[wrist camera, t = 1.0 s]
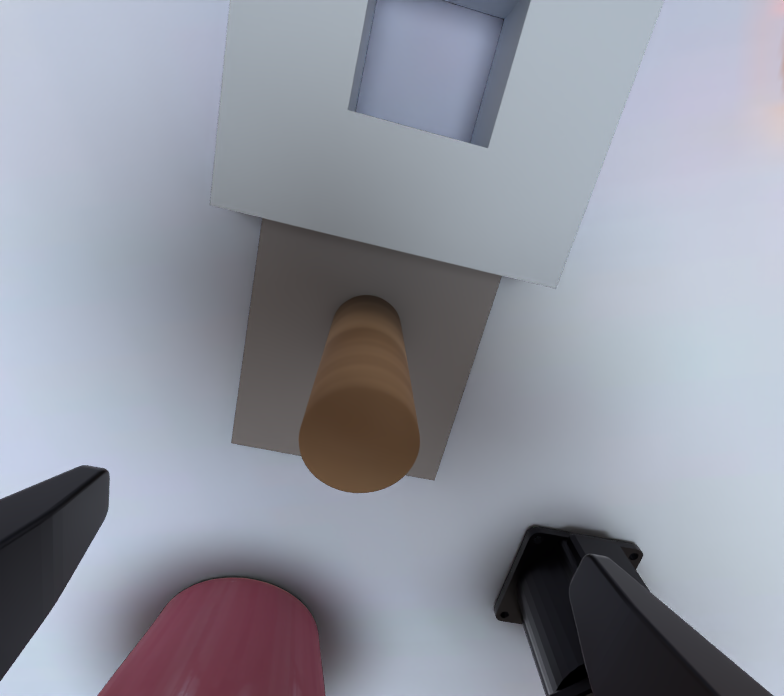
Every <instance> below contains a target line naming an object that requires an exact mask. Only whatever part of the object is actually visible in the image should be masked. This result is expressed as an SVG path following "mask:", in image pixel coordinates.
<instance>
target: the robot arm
mask: <svg viewBox="0 0 784 696" xmlns="http://www.w3.org/2000/svg"><path fill="white" fill-rule="evenodd" d="M109 481H110V476H109V472H108V471H107V470H106V469H104V468H99V467H93V466H88V465H83V466H79V467H76V468H74V469H72V470H69V471H67V472H64V473H62V474H60V475H57V476H55V477H52V478H50V479H48V480H45V481H43V482H41V483H38V484H36V485H33V486H31V487H29V488H26V489H24V490H21V491H19V492H17V493H14V494H12V495H9V496H7V497H5V498H2V499H0V681H1V680H2V678H3V677H4V675H5V674H6V673H7V671H8V670H9V668H10V667H11V666H12V664H13V663H14V662H15V660H16V659H17V657H18V656H19V655H20V653H21V652H22V650H23V649H24V648H25V646H26V645H27V643H28V642H29V641H30V639H31V638H32V636H33V635H34V634H35V632H36V631H37V630H38V628H39V627H40V625H41V624H42V623H43V621H44V620H45V618H46V617H47V615H48V614H49V612H50V611H51V610H52V608H53V607H54V605H55V603H56V602H57V600H58V599H59V597H60V595H61V594H62V592H63V590H64V589H65V587H66V585H67V583H68V582H69V580H70V578H71V577H72V575H73V573H74V571H75V570H76V568H77V566H78V565H79V563H80V561H81V559H82V558H83V556H84V554H85V552H86V551H87V549H88V547H89V546H90V544H91V542H92V540H93V539H94V537H95V535H96V534H97V532H98V530H99V528H100V527H101V525H102V523H103V521H104V520H105V517H106V515H107V512H108V507H109ZM537 536H539V537H538V538H535V537H537ZM642 557H643V553H642V551H641V550H640V548H639V547H638V546H637V545H635V544H632V543H626V542H620V541H615V540H609V539H603V538H598V537H592V536H586V535H581V534H575V533H569V532H564V531H558V530H552V529H547V528H541V527H534V528H531V529H530V530H528V532H527V534H526V536H525V538H524V540H523V543H522V545H521V547H520V550H519V552H518V554H517V556H516V559H515V561H514V563H513V566H512V568H511V570H510V573H509V575H508V577H507V579H506V582H505V584H504V586H503V589H502V591H501V593H500V596H499V598H498V600H497V602H496V605H495V607H494V611H495V615H496V618H497V619H498V620H500V621H505V622H511V623H518V624H523V627H524V630H525V633H526V636H527V639H528V642H529V645H530V648H531V651H532V655H533V658H534V661H535V664H536V667H537V670H538V673H539V676H540V679H541V682H542V685H543V688H544V691H545V694H546V696H773V695H772V694H771V693H770V692H768V691H767V690H766V689H765V688H764V687H762V686H761V685H760V684H759V683H758V682H756V681H755V680H754V679H753V678H752V677H750V676H749V675H748V674H747V673H746V672H745V671H743V670H742V669H741V668H740V667H739V666H737V665H736V664H735V663H734V662H733V661H731V660H730V659H729V658H728V657H727V656H725V655H724V654H723V653H722V652H721V651H719V650H718V649H717V648H716V647H715V646H714V645H712V644H711V643H710V642H709V641H708V640H706V639H705V638H704V637H703V636H702V635H700V634H699V633H698V632H697V631H696V630H694V629H693V628H692V627H691V626H690V625H689V624H687V623H686V622H685V621H684V620H683V619H681V618H680V617H679V616H678V615H677V614H675V613H674V612H673V611H672V610H671V609H669V608H668V607H667V606H666V605H665V604H664V603H662V602H661V601H660V600H659V599H658V598H656V597H655V596H654V595H653V594H652V593H650V591H649V590H648V588H647V586H646V585H645V583H644V582H643V580H642V579H641V577H640V576H639V574H638V573H637V571H636V568H637V566H638V565H639V563H640V561H641V559H642Z"/></svg>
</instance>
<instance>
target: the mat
mask: <svg viewBox="0 0 784 696" xmlns="http://www.w3.org/2000/svg"><path fill="white" fill-rule="evenodd" d="M501 277H502V276H501V275H497V274H493V273H488V272H484V271H480V270H476V269H472V268H468V267H464V266H459V265H455V264H451V263H447V262H443V261H439V260H435V259H430V258H426V257H422V256H418V255H414V254H410V253H406V252H401V251H397V250H393V249H389V248H385V247H381V246H377V245H372V244H368V243H364V242H360V241H356V240H352V239H348V238H343V237H339V236H335V235H331V234H327V233H323V232H319V231H314V230H310V229H306V228H302V227H298V226H294V225H290V224H285V223H281V222H277V221H273V220H269V219H265V218H262V224H261V231H260V239H259V246H258V253H257V260H256V268H255V275H254V282H253V289H252V296H251V304H250V311H249V318H248V325H247V333H246V340H245V347H244V354H243V362H242V369H241V376H240V383H239V391H238V398H237V405H236V412H235V419H234V427H233V434H232V441H231V443H233V444H239V445H244V446H250V447H255V448H261V449H266V450H271V451H277V452H282V453H288V454H293V455H299V456H301V454H300V449H299V431H300V427H301V424H302V421H303V417H304V414H305V411H306V407H307V404H308V401H309V397H310V394H311V391H312V387H313V384H314V381H315V378H316V374H317V371H318V368H319V364H320V361H321V358H322V354H323V351H324V348H325V344H326V341H327V338H328V335H329V331H330V328H331V325H332V321H333V318H334V315H335V313H336V311H337V310H338V308H339V307H340V306H341V305H342V304H343V303H344V302H346V301H347V300H349V299H351V298H353V297H356V296H360V295H372V296H376V297H380V298H382V299H384V300H385V301H387V302H388V303H390V304H391V305H392V306H393V307H394V309H395V310H396V311H397V313H398V315H399V318H400V321H401V327H402V333H403V339H404V344H405V350H406V356H407V362H408V368H409V374H410V380H411V386H412V392H413V398H414V404H415V410H416V416H417V421H418V427H419V433H420V448H419V453H418V456H417V458H416V461H415V463H414V464H413V466H412V468H411V469H410V470H409V472H408V473H407V474H406V475H407V476H413V477H418V478H424V479H429V480H435V477H436V474H437V471H438V468H439V465H440V462H441V459H442V456H443V453H444V450H445V447H446V444H447V441H448V438H449V434H450V431H451V428H452V425H453V422H454V419H455V416H456V413H457V410H458V407H459V404H460V401H461V398H462V395H463V392H464V389H465V386H466V383H467V380H468V377H469V374H470V371H471V368H472V365H473V362H474V359H475V356H476V353H477V349H478V346H479V343H480V340H481V337H482V334H483V331H484V328H485V325H486V322H487V319H488V316H489V313H490V310H491V307H492V304H493V301H494V298H495V295H496V292H497V289H498V286H499V283H500V280H501Z"/></svg>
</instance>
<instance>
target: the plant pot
mask: <svg viewBox="0 0 784 696" xmlns="http://www.w3.org/2000/svg"><path fill="white" fill-rule="evenodd" d="M98 696H325V687H324V679H323V670H322V662H321V653H320V645H319V633H318V629H317V625H316V622H315V620H314V618H313V616H312V614H311V613H310V612H309V610H308V609H307V608H306V606H305V605H304V604H303V603H302V602H301V601H300V600H298V599H297V598H296V597H294V596H293V595H292V594H290V593H288V592H287V591H285V590H283V589H281V588H279V587H277V586H275V585H272V584H269V583H266V582H263V581H259V580H255V579H249V578H230V577H228V578H217V579H211V580H207V581H204V582H201V583H198V584H195V585H193V586H191V587H189V588H187V589H185V590H183V591H182V592H180V593H179V594H177V595H176V596H175V597H174V598H172V599H171V600H170V602H169V603H168V604H167V605H166V606H165V608H164V609H163V610H162V612H161V613H160V615H159V616H158V617H157V619H156V620H155V622H154V623H153V624H152V626H151V627H150V628H149V630H148V631H147V632H146V633H145V635H144V636H143V637H142V639H141V640H140V641H139V642H138V644H137V645H136V646H135V648H134V649H133V650H132V651H131V653H130V654H129V655H128V657H127V658H126V659H125V660H124V662H123V663H122V664H121V666H120V667H119V668H118V669H117V671H116V672H115V673H114V675H113V676H112V677H111V679H110V680H109V681H108V682H107V684H106V685H105V686H104V688H103V689H102V690H101V692H100V693H99V694H98Z"/></svg>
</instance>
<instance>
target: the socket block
mask: <svg viewBox="0 0 784 696" xmlns="http://www.w3.org/2000/svg"><path fill="white" fill-rule="evenodd" d="M376 1H377V0H230V4H229V14H228V24H227V35H226V45H225V55H224V65H223V75H222V85H221V96H220V106H219V116H218V126H217V136H216V146H215V157H214V167H213V177H212V187H211V197H210V205H211V206H215V207H219V208H223V209H227V210H232V211H236V212H240V213H244V214H248V215H252V216H256V217H261V218H265V219H269V220H273V221H277V222H281V223H285V224H290V225H294V226H298V227H302V228H306V229H310V230H314V231H319V232H323V233H327V234H331V235H335V236H339V237H343V238H348V239H352V240H356V241H360V242H364V243H368V244H372V245H377V246H381V247H385V248H389V249H393V250H397V251H401V252H406V253H410V254H414V255H418V256H422V257H426V258H430V259H435V260H439V261H443V262H447V263H451V264H455V265H459V266H464V267H468V268H472V269H476V270H480V271H484V272H488V273H493V274H497V275H501V276H505V277H509V278H513V279H517V280H522V281H526V282H530V283H534V284H538V285H542V286H546V287H551V288H555V289H556V288H557V285H558V282H559V280H560V277H561V274H562V272H563V269H564V266H565V264H566V261H567V258H568V256H569V253H570V250H571V248H572V245H573V242H574V240H575V237H576V234H577V232H578V229H579V226H580V224H581V221H582V218H583V216H584V213H585V210H586V208H587V205H588V202H589V200H590V197H591V194H592V192H593V189H594V186H595V184H596V181H597V178H598V176H599V173H600V170H601V168H602V165H603V162H604V160H605V157H606V154H607V152H608V149H609V146H610V144H611V141H612V138H613V136H614V133H615V130H616V128H617V125H618V122H619V120H620V117H621V114H622V112H623V109H624V106H625V104H626V101H627V98H628V96H629V93H630V90H631V88H632V85H633V82H634V80H635V77H636V74H637V72H638V69H639V66H640V64H641V61H642V58H643V56H644V53H645V50H646V48H647V45H648V42H649V40H650V37H651V34H652V32H653V29H654V26H655V24H656V21H657V18H658V16H659V13H660V10H661V8H662V5H663V2H664V0H444V1H447V2H450V3H454V4H457V5H460V6H463V7H467V8H470V9H473V10H476V11H480V12H483V13H486V14H489V15H492V16H496V17H499V18H502V19H504V22H503V26H502V29H501V33H500V37H499V40H498V44H497V47H496V51H495V55H494V58H493V62H492V66H491V69H490V73H489V76H488V80H487V84H486V87H485V91H484V94H483V98H482V102H481V105H480V109H479V113H478V116H477V120H476V123H475V127H474V131H473V134H472V138H471V141H470V143H467V142H463V141H459V140H456V139H452V138H448V137H445V136H441V135H437V134H434V133H430V132H427V131H423V130H419V129H416V128H412V127H408V126H405V125H401V124H397V123H394V122H390V121H386V120H383V119H379V118H375V117H372V116H368V115H365V114H361V113H357V112H355V110H356V105H357V100H358V95H359V90H360V84H361V79H362V74H363V69H364V64H365V58H366V53H367V48H368V43H369V38H370V32H371V27H372V22H373V17H374V11H375V6H376Z"/></svg>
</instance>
